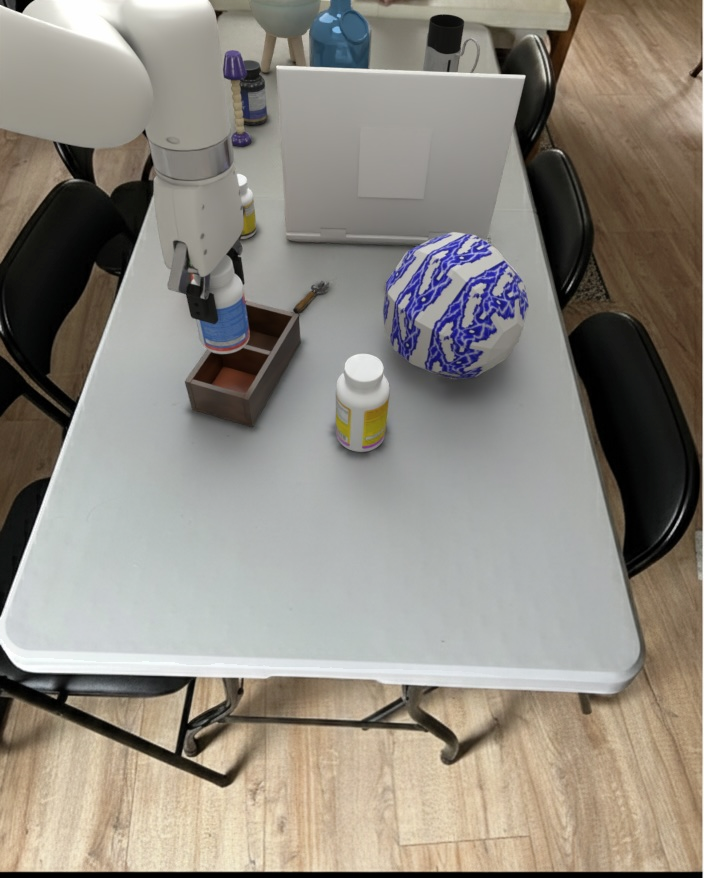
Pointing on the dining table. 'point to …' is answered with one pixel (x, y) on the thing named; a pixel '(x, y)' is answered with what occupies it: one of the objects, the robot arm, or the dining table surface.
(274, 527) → the dining table surface
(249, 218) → the supplement bottle
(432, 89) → the laptop
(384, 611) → the dining table surface
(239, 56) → the toy lamp
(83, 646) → the dining table surface
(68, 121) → the robot arm
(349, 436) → the supplement bottle
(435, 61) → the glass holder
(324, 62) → the wine bottle
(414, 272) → the ornament
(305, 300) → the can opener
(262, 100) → the pill bottle
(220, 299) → the pill bottle
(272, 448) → the dining table surface
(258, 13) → the planter
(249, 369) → the caddy
